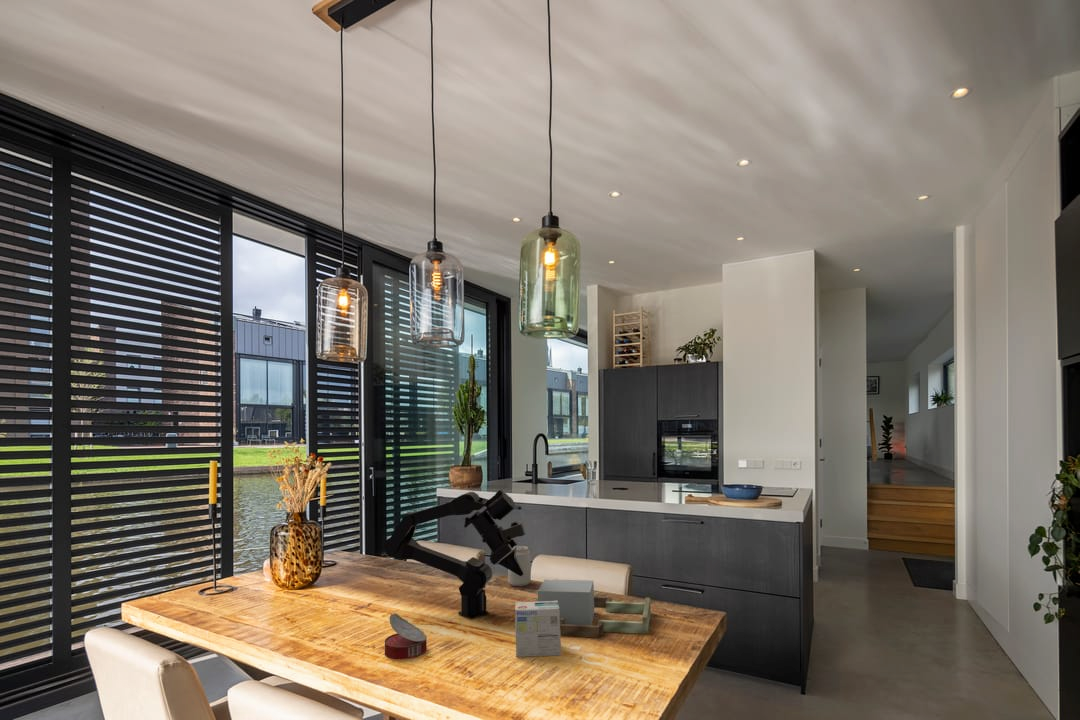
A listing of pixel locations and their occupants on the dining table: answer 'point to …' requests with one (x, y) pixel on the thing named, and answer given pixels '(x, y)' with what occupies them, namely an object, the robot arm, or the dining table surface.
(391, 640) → the canned food
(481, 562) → the robot arm
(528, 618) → the light bulb box
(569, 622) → the block
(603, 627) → the lane
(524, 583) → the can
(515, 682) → the dining table surface
